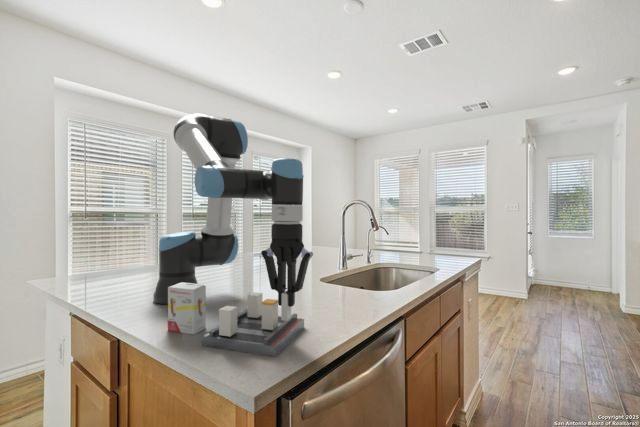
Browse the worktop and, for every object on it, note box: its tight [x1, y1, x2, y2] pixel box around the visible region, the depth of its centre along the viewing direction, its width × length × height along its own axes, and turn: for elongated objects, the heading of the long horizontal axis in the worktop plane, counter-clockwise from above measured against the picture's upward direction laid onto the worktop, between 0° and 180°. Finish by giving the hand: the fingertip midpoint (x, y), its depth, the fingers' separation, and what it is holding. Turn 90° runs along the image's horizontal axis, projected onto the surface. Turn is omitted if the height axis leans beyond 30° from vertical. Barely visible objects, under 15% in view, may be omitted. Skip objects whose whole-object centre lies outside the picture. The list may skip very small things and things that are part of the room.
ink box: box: [167, 282, 207, 335], centre depth 84 cm, size 9×5×12 cm, turn 72°
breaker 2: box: [246, 291, 264, 318], centre depth 87 cm, size 3×3×6 cm
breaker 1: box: [218, 305, 238, 337], centre depth 75 cm, size 3×3×6 cm
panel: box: [201, 309, 305, 358], centre depth 80 cm, size 19×18×4 cm
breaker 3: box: [262, 298, 279, 330], centre depth 79 cm, size 3×3×7 cm
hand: (286, 318), depth 78 cm, fingers closed
